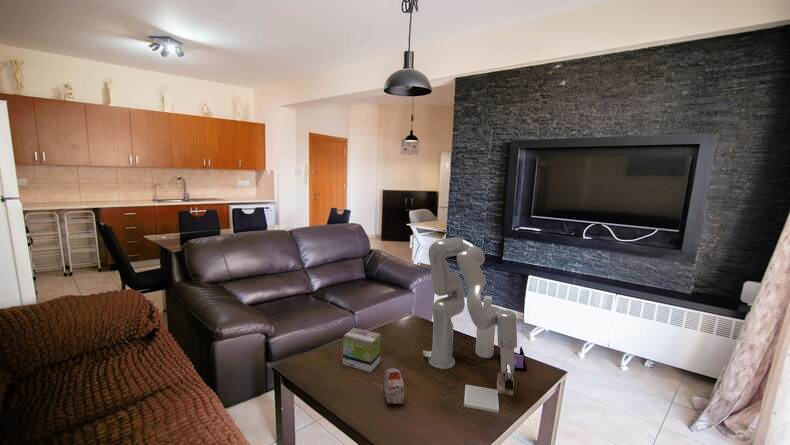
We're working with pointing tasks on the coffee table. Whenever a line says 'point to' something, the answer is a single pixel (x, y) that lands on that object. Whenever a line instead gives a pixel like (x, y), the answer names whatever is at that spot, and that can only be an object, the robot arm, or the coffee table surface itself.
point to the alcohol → (485, 336)
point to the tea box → (361, 349)
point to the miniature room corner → (518, 361)
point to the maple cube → (503, 385)
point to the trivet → (481, 398)
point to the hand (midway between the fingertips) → (508, 383)
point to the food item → (394, 386)
